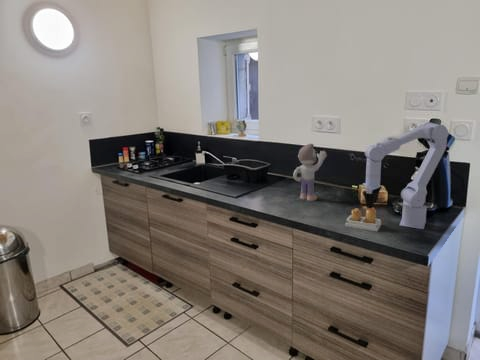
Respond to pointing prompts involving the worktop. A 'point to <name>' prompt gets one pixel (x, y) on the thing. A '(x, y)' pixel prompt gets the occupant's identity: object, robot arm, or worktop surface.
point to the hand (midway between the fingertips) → (371, 205)
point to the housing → (361, 221)
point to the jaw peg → (370, 215)
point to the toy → (308, 170)
